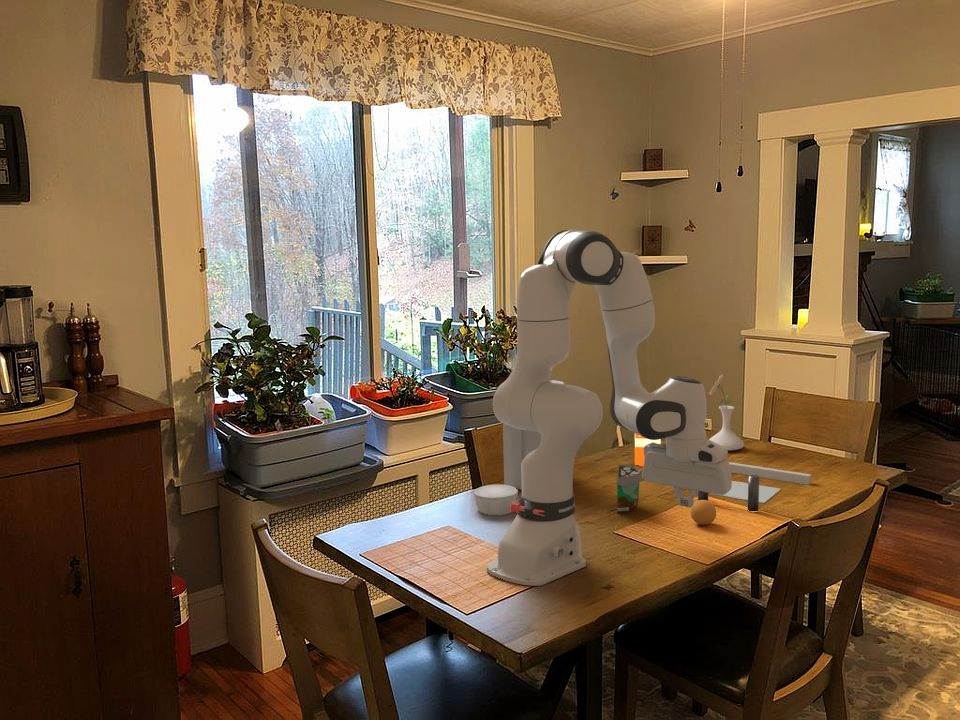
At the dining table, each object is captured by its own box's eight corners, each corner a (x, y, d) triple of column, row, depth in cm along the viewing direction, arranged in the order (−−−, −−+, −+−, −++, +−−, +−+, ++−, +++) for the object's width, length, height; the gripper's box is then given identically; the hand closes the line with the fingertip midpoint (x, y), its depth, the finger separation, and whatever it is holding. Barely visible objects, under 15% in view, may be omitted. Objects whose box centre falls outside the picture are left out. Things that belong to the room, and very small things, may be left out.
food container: (642, 516, 201) (642, 478, 200) (617, 515, 203) (617, 477, 201) (642, 501, 213) (642, 464, 212) (618, 500, 215) (618, 463, 213)
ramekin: (465, 510, 209) (465, 491, 209) (495, 500, 217) (495, 481, 216) (497, 520, 202) (496, 500, 201) (526, 509, 209) (526, 489, 209)
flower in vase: (720, 442, 270) (722, 368, 267) (751, 448, 262) (753, 372, 258) (697, 449, 262) (698, 373, 258) (728, 456, 253) (730, 377, 250)
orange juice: (634, 465, 246) (634, 401, 243) (634, 458, 254) (634, 395, 251) (661, 466, 244) (661, 401, 241) (659, 458, 253) (660, 395, 250)
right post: (756, 513, 202) (757, 478, 201) (746, 511, 204) (746, 476, 202) (759, 510, 204) (760, 475, 203) (749, 508, 206) (750, 474, 204)
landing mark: (763, 503, 209) (764, 502, 209) (711, 494, 217) (711, 493, 217) (781, 489, 220) (781, 488, 220) (730, 481, 228) (730, 480, 228)
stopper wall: (808, 485, 223) (809, 476, 223) (723, 471, 238) (724, 463, 237) (810, 483, 225) (811, 474, 224) (726, 469, 239) (726, 461, 239)
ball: (710, 530, 191) (710, 506, 190) (686, 525, 195) (686, 501, 194) (719, 523, 196) (720, 499, 195) (696, 518, 199) (696, 495, 198)
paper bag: (536, 497, 218) (534, 395, 214) (503, 484, 230) (501, 388, 226) (588, 484, 229) (588, 386, 225) (554, 472, 241) (553, 379, 237)
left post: (705, 503, 210) (706, 470, 208) (696, 502, 211) (696, 468, 210) (709, 501, 212) (710, 467, 211) (700, 499, 213) (700, 466, 212)
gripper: (637, 444, 186) (638, 501, 189) (724, 457, 174) (723, 518, 176) (649, 437, 191) (650, 493, 193) (734, 450, 179) (734, 509, 181)
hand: (685, 505), depth 185 cm, fingers closed
